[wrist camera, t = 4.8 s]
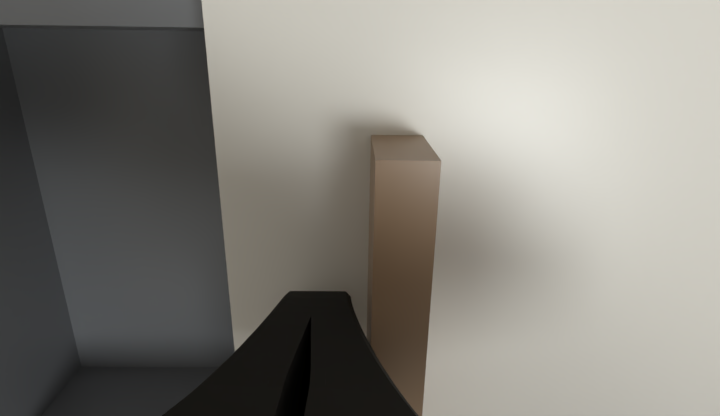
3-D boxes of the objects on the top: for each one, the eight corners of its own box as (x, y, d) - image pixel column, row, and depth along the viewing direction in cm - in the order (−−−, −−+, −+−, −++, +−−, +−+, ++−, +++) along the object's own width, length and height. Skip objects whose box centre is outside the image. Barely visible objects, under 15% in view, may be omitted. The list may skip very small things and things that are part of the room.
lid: (838, 3, 9) (1040, -12, 6) (673, 494, 13) (751, 605, 11) (213, -7, 9) (153, -27, 6) (256, 494, 13) (232, 608, 11)
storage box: (398, 12, 14) (422, -2, 9) (384, 370, 18) (395, 484, 14) (-9, 6, 14) (-202, -13, 9) (77, 369, 18) (-21, 485, 13)
